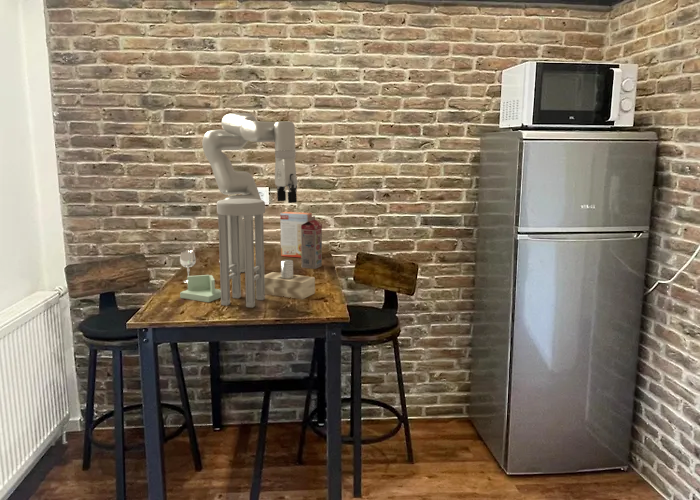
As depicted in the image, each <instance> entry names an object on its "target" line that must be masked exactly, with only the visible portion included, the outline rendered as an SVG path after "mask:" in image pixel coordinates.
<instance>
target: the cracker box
mask: <svg viewBox="0 0 700 500" xmlns="http://www.w3.org/2000/svg"><path fill="white" fill-rule="evenodd" d="M312 213H313V212H303V211H302V212H299V211H283V212H280V256H281V257H288V258H301V259H302V256H301V225H302V224H304V223H306V222H308V218H309V217H313V214H312Z"/></svg>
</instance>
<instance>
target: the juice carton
mask: <svg viewBox="0 0 700 500" xmlns="http://www.w3.org/2000/svg"><path fill="white" fill-rule="evenodd" d="M322 229H323V224H322V223H321V222H319V220H316V216H315V215H312V217H309V218H308V222H306V223H304V224H302V225H301V256H302V258H301V269H302V268H303V269H313V270H316V269H319V268H320V267H322V266H323V265H322V264H323V263H322V262H323V253H322V252H323V230H322Z"/></svg>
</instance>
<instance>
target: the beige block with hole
mask: <svg viewBox="0 0 700 500" xmlns="http://www.w3.org/2000/svg"><path fill="white" fill-rule="evenodd" d="M264 277H265V295H269V296H270V295H271V296H277V297H283V296H284V297H285V298H290V297H291V299H297V300H304V299H306V298H308V297H310V296H313V295H314V294H315V293H316V278H315V276H308V275H307V276H306V275H299V274H293V279H290V280H288V279H281V272H276V271H275V272H274V271H272V272H269V273H267V274H264Z"/></svg>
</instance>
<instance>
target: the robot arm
mask: <svg viewBox="0 0 700 500" xmlns="http://www.w3.org/2000/svg"><path fill="white" fill-rule="evenodd" d="M221 127H222V129H211V130H208V131H205V133H204V135H203V137H202V145H201V146H202V151H203V154H204V156H205V157H206V160H207V161H208V163H209V166H210V167H211V170H212V172H213V173H212V174H213V176H214V178H215V179H214V180H215V182H216V185H217V188H218V190H219V192H220V193H221V194H223V195H229V196H226V197H225V198H224V199H243V198H245V199H259V200H262V199H261V195H260V193H259V189H258V187H257V183H256V180H255V178H254V177H253V175H252V174H251V173H250V172H248V171H245V170H243V171H236V170H235V168H234V167H233V164H232V161H231V160H230V157H228V156H227V154H225V153H224V152H223V151H239V150H241V149H243V148H244V147H245V146H246V145H247V144H248V142H249V141H250V142H254V143H274V158H275V164H274V165H275V166H274V185H275V186H276V191H277V193H276V194H277V201H278V202H285V201H287V202H288V204H293V203H294V204H296V203H297V202H298V200H297V198H298V197H297V191H298V179H297V167H296V161H295V160H296V158H297V157H296V130H295V123H294V122H292V121H288V120H285V121H283V120H282V121H258V120H257V118H256V117H255V116H254V115H253V114H251V113H248V112H247V113H246V112H245V113H242V112H229V113H227V114H225V115H224V116H223V117H222V119H221ZM286 187H287V190H288V192H287V194H286ZM286 195H287V196H286ZM253 217H255V215H253ZM227 218H228V249H229V266H230V265H231V235H230V216H229V215H227ZM239 242H240V274H241V273H245V245H244V216H239ZM218 264H220V260H219V261H218ZM229 274H232V270H230V271H229Z"/></svg>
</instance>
